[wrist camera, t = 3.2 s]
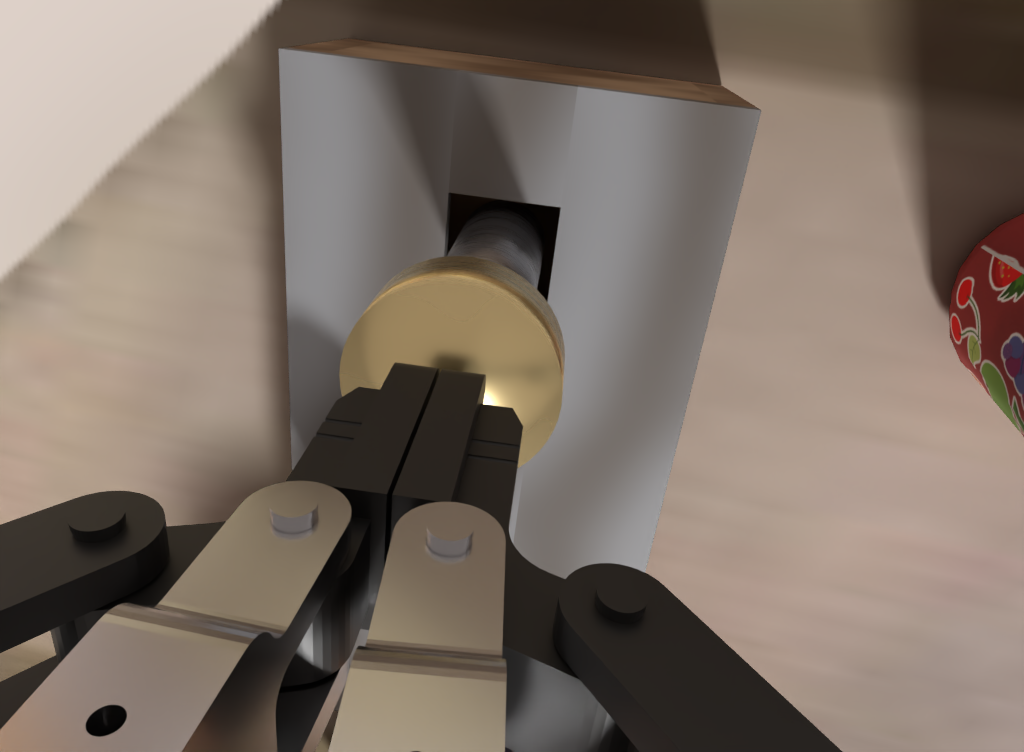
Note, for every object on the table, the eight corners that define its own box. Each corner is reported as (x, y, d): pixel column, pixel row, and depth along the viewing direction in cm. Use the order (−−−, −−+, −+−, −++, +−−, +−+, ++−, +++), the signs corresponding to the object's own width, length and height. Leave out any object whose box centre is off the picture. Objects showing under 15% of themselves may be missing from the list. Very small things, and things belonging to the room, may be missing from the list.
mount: (722, 86, 23) (761, 110, 18) (598, 635, 34) (599, 752, 29) (348, 38, 24) (278, 48, 18) (343, 597, 35) (299, 704, 29)
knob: (582, 181, 20) (578, 301, 12) (562, 315, 22) (546, 497, 14) (439, 162, 20) (339, 267, 12) (430, 296, 22) (339, 467, 14)
